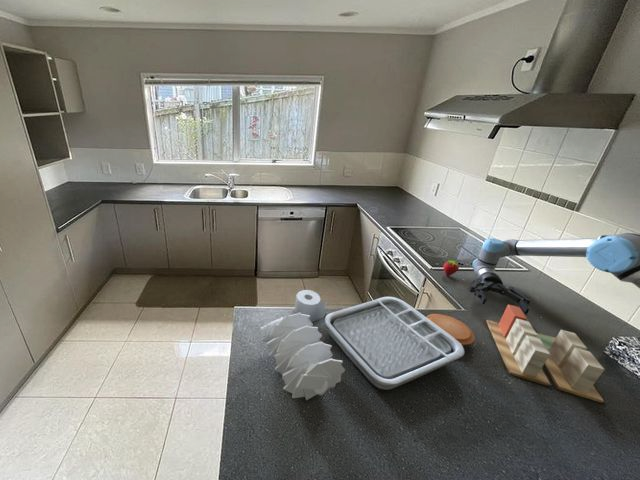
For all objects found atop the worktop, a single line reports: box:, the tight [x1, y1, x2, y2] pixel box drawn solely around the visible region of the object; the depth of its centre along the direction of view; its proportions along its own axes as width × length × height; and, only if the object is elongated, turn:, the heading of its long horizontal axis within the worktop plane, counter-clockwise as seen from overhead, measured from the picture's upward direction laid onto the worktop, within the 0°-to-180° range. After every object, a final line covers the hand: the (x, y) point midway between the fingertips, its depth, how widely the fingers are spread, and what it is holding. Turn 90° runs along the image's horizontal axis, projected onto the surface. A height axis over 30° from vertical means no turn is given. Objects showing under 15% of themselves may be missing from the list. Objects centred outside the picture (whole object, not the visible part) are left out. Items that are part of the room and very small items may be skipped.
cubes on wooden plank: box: [536, 329, 605, 404], centre depth 93 cm, size 26×10×11 cm, turn 156°
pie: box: [425, 313, 476, 347], centre depth 104 cm, size 15×16×5 cm
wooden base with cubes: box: [485, 319, 552, 387], centre depth 97 cm, size 26×10×11 cm, turn 156°
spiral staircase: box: [260, 312, 346, 401], centre depth 85 cm, size 18×18×25 cm
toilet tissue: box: [293, 289, 326, 323], centre depth 112 cm, size 9×13×9 cm
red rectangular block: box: [498, 303, 528, 337], centre depth 104 cm, size 7×4×10 cm, turn 156°
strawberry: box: [443, 259, 459, 277], centre depth 141 cm, size 6×8×10 cm
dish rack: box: [324, 296, 465, 391], centre depth 96 cm, size 32×37×8 cm
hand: (505, 306), depth 111 cm, fingers open, 13 cm apart
